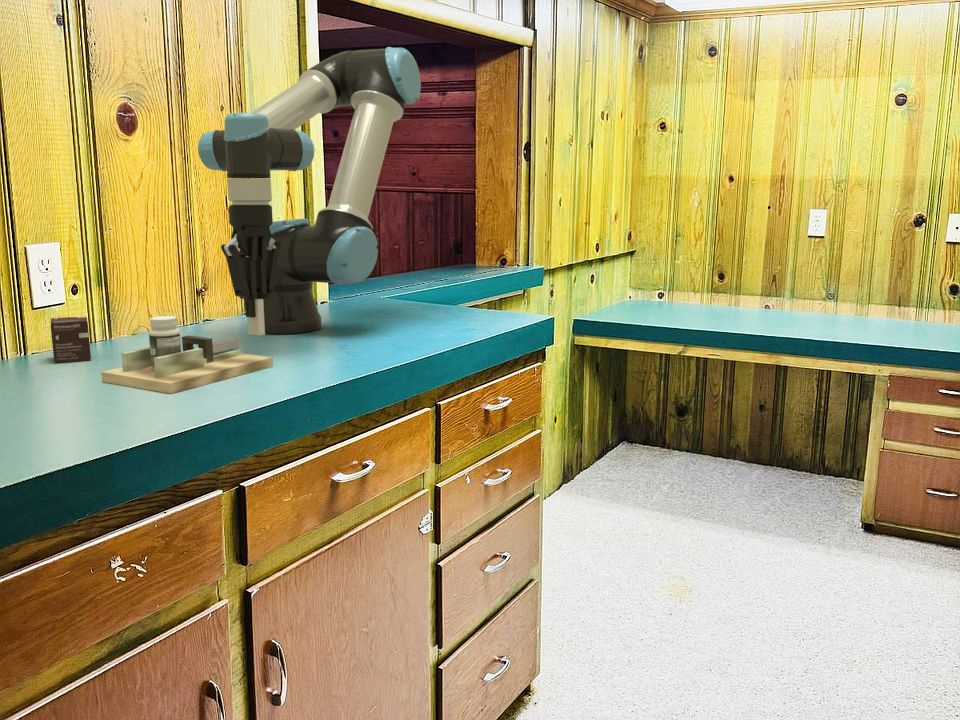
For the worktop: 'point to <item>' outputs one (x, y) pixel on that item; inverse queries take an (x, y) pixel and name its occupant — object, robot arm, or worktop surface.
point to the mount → (183, 367)
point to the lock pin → (224, 345)
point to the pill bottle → (163, 337)
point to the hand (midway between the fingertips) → (256, 334)
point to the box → (70, 339)
